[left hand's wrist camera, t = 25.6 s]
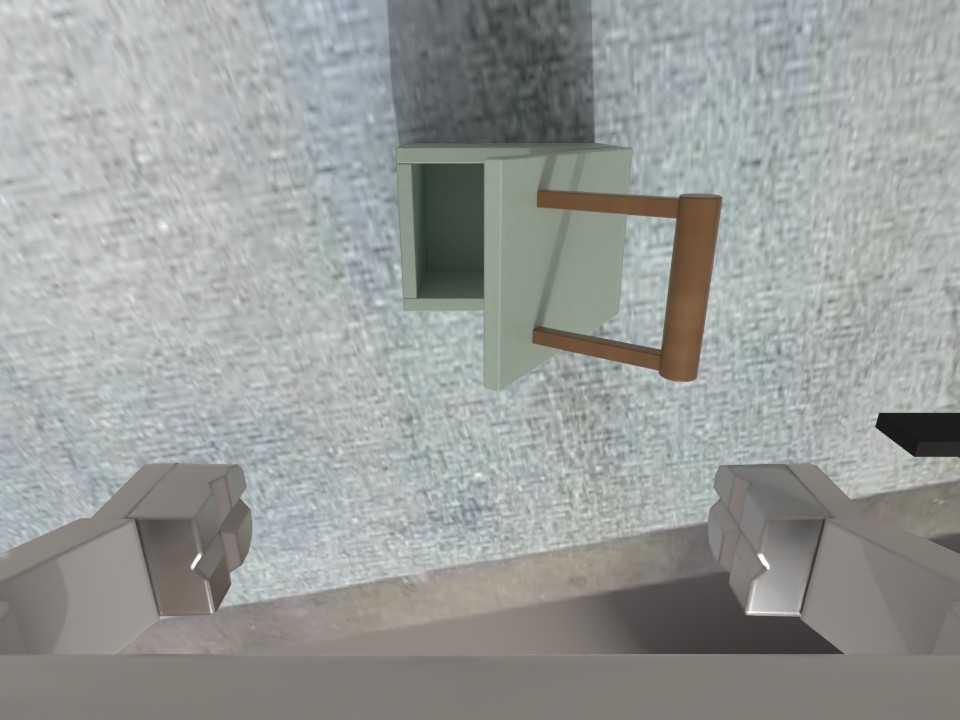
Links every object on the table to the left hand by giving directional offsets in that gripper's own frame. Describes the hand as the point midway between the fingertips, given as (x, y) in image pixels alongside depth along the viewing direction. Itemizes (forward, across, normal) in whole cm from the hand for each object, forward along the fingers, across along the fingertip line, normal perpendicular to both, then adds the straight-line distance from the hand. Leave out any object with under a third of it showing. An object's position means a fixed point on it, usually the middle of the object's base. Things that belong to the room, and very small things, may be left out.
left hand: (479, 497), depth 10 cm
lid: (+21, +4, 0) cm, 22 cm away
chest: (+36, +2, 0) cm, 37 cm away
